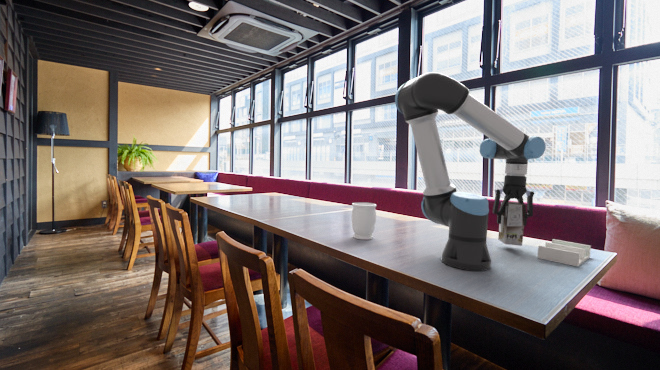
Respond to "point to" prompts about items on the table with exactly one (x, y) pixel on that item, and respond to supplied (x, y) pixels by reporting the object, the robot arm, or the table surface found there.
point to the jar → (363, 220)
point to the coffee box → (513, 224)
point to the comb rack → (564, 252)
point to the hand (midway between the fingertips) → (510, 232)
